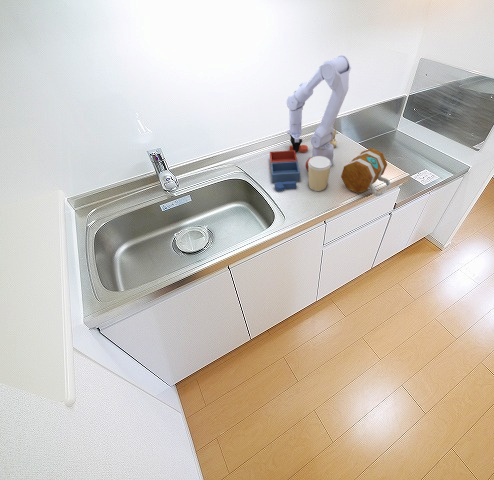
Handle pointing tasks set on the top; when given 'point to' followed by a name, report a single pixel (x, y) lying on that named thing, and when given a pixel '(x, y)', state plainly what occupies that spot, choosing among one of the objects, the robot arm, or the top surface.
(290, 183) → the blue spoon
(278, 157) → the red bin
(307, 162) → the apple
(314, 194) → the top surface
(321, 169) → the coffee cup
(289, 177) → the blue bin
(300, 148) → the terracotta spoon
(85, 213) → the top surface
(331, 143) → the robot
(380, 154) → the mug
